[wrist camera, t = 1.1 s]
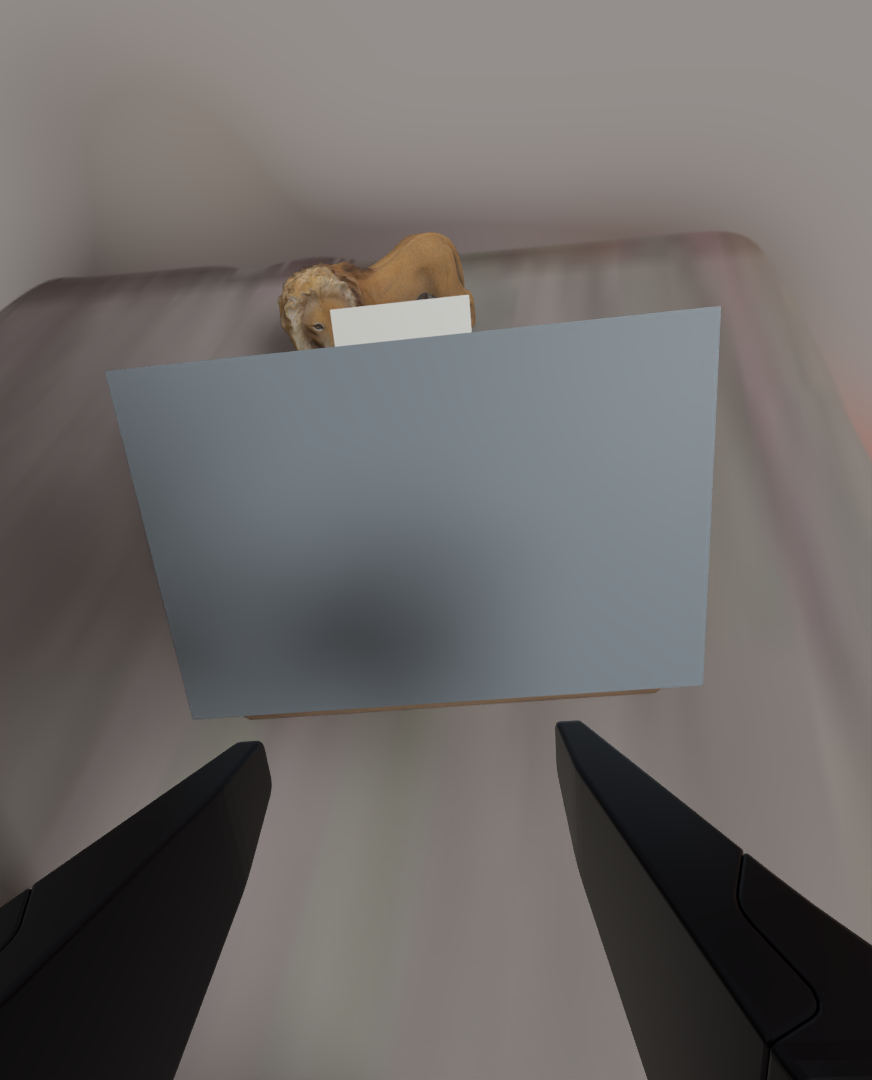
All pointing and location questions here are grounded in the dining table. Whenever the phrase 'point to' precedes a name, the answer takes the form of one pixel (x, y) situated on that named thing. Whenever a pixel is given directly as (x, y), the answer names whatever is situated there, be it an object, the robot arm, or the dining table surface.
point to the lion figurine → (369, 286)
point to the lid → (431, 509)
